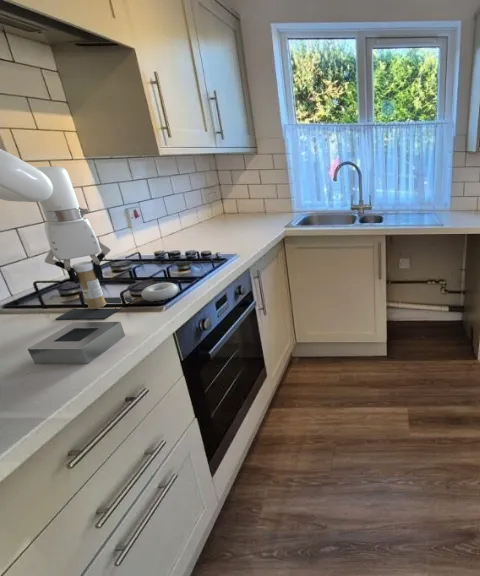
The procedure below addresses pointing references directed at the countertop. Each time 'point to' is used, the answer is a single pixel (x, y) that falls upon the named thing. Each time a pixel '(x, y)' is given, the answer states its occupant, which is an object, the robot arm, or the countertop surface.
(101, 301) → the sprinkles bottle
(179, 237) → the countertop surface
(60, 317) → the mat
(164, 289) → the donut
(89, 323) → the stand
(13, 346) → the countertop surface
